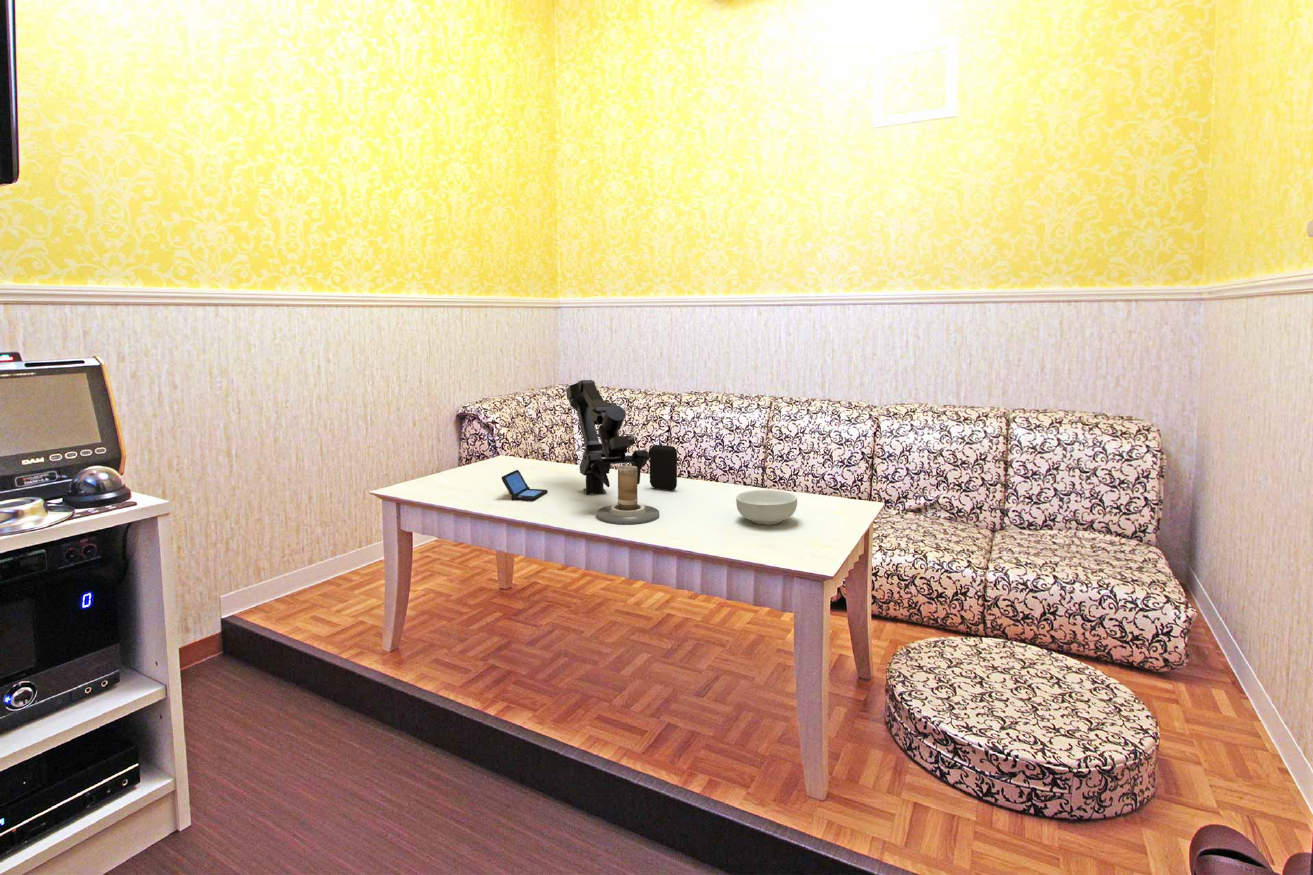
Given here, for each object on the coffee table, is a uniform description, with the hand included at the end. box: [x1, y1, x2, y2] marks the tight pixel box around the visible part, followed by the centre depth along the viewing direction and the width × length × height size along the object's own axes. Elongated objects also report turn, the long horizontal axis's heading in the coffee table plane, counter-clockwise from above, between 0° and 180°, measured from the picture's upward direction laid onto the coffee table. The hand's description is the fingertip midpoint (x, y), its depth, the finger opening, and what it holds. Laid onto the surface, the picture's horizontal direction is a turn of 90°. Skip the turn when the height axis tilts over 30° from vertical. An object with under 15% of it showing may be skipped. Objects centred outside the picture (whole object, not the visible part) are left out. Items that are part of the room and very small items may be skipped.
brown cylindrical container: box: [617, 465, 639, 511], centre depth 206 cm, size 6×6×13 cm
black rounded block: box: [647, 444, 678, 492], centre depth 237 cm, size 11×3×15 cm, turn 62°
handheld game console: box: [501, 469, 549, 502], centre depth 229 cm, size 12×11×7 cm
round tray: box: [595, 503, 660, 526], centre depth 206 cm, size 18×18×2 cm
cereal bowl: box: [735, 489, 798, 526], centre depth 201 cm, size 17×17×7 cm
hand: (623, 484), depth 208 cm, fingers open, 9 cm apart
